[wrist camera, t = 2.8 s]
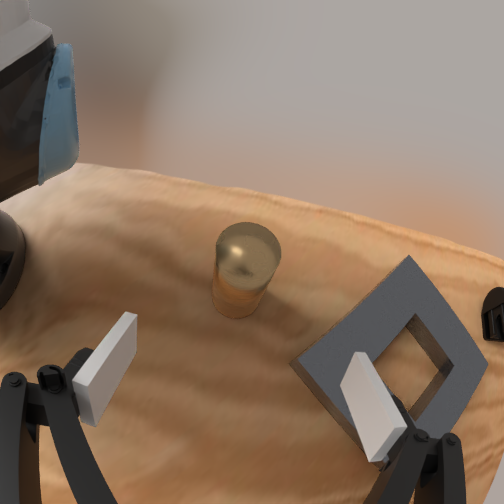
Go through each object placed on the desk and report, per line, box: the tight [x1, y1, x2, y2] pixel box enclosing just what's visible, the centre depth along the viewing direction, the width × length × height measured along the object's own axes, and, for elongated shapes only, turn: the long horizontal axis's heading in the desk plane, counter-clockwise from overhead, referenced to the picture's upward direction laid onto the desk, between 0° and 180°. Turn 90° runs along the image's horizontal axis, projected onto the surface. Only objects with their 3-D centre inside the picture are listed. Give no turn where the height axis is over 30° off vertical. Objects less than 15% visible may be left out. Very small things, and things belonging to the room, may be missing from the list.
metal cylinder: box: [212, 222, 281, 319], centre depth 27 cm, size 5×5×10 cm
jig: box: [289, 255, 488, 470], centre depth 28 cm, size 20×20×3 cm
